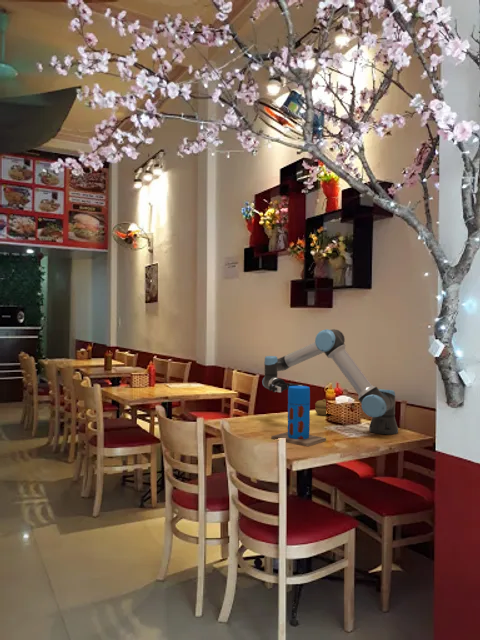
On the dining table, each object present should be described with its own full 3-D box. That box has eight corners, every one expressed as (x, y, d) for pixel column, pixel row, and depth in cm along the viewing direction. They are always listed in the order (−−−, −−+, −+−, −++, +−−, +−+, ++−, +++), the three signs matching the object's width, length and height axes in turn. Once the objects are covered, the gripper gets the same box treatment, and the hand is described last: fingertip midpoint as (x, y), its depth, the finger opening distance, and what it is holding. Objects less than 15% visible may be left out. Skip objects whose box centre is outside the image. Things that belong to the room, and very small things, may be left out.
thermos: (311, 439, 256) (311, 388, 256) (289, 439, 255) (290, 388, 255) (307, 434, 267) (307, 385, 267) (286, 434, 266) (286, 385, 266)
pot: (331, 413, 336) (331, 397, 336) (335, 416, 324) (335, 400, 324) (313, 413, 336) (313, 397, 336) (316, 416, 324) (316, 400, 324)
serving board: (325, 441, 259) (326, 438, 259) (307, 446, 248) (307, 443, 248) (290, 433, 274) (290, 431, 274) (271, 438, 263) (271, 435, 263)
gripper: (297, 390, 299) (313, 395, 279) (256, 392, 291) (270, 397, 271) (297, 377, 299) (313, 381, 279) (256, 379, 291) (270, 383, 271)
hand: (292, 389), depth 275 cm, fingers open, 13 cm apart
